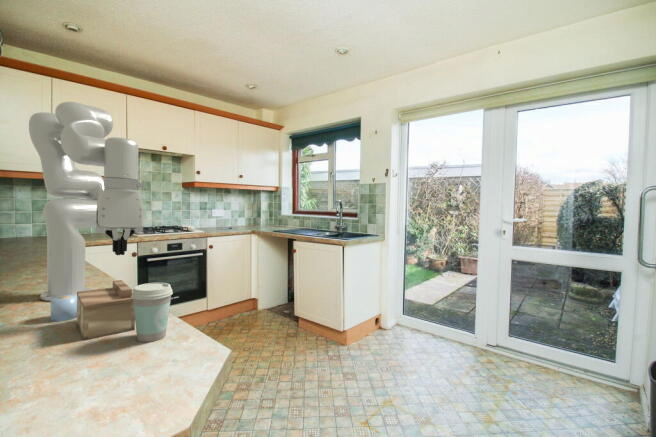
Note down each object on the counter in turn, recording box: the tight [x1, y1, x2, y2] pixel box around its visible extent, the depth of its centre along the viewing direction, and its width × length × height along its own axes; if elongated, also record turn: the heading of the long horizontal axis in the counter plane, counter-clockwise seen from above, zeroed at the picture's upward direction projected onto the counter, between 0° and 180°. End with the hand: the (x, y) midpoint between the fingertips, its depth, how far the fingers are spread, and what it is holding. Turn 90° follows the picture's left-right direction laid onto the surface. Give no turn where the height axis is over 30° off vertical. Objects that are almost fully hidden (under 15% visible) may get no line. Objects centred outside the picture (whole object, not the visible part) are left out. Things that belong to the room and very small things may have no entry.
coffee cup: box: [131, 282, 174, 343], centre depth 74 cm, size 8×8×12 cm
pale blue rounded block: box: [50, 295, 77, 323], centre depth 84 cm, size 6×6×6 cm
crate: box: [76, 296, 136, 341], centre depth 79 cm, size 14×10×7 cm
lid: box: [77, 279, 133, 309], centre depth 79 cm, size 14×10×3 cm
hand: (119, 254), depth 84 cm, fingers closed
